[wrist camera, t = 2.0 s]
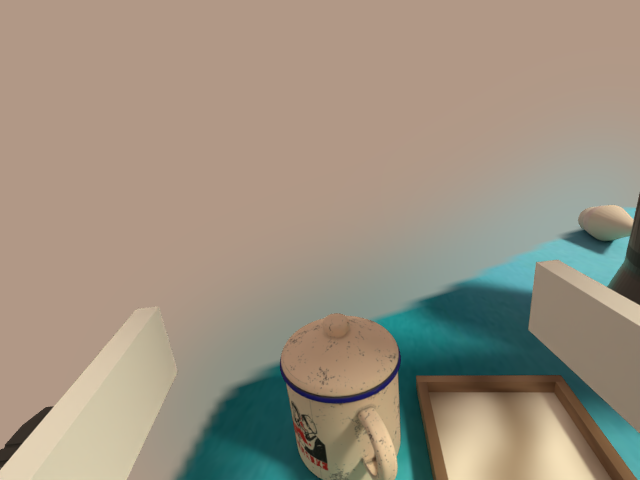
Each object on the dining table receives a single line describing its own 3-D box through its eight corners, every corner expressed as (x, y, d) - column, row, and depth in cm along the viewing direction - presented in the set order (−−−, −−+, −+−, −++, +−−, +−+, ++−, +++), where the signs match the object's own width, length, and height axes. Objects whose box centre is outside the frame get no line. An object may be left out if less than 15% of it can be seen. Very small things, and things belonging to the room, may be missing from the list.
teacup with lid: (283, 415, 32) (262, 306, 28) (371, 383, 35) (364, 279, 31) (329, 560, 22) (306, 417, 18) (452, 499, 24) (456, 362, 20)
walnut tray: (558, 388, 32) (560, 375, 31) (721, 624, 17) (730, 607, 17) (416, 388, 34) (416, 375, 33) (455, 600, 19) (456, 585, 19)
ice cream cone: (638, 261, 52) (582, 240, 66) (679, 233, 50) (613, 218, 64) (611, 230, 51) (561, 216, 66) (650, 202, 50) (591, 194, 64)
